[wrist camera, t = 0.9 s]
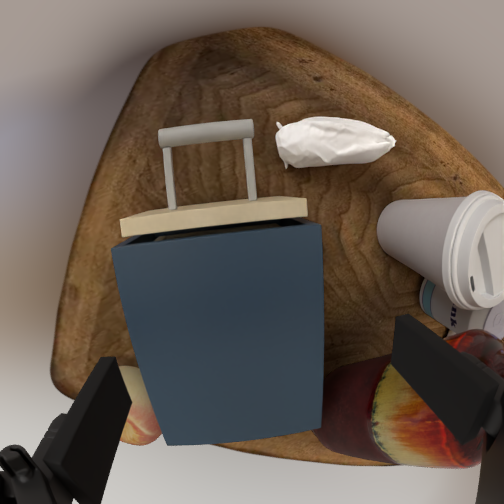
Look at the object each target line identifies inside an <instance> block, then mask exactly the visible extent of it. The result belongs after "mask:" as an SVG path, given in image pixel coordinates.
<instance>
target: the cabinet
mask: <svg viewBox="0 0 504 504" xmlns="http://www.w3.org/2000/svg"><path fill="white" fill-rule="evenodd" d="M274 223H276V224H278V225H279V226H281V227H276V228H266V229H257V230H247V231H238V232H229V233H220V234H211V235H202V236H194V237H185V238H177V239H169V240H160V241H154V240H155V239H157V238H158V237H159V236H167V235H175V234H183V233H192V232H200V231H209V230H218V229H227V228H236V227H245V226H255V225H264V224H274ZM111 252H112V258H113V263H114V269H115V274H116V279H117V284H118V288H119V293H120V298H121V302H122V306H123V311H124V315H125V319H126V323H127V327H128V331H129V334H130V338H131V342H132V345H133V349H134V352H135V356H136V359H137V363H138V366H139V369H140V372H141V376H142V379H143V382H144V385H145V388H146V391H147V394H148V397H149V399H150V402H151V405H152V408H153V411H154V413H155V416H156V419H157V421H158V424H159V426H160V429H161V432H162V434H163V437H164V439H165V441H166V444H167V445H168V446H174V445H176V446H177V445H202V444H218V443H230V442H240V441H248V440H256V439H263V438H270V437H276V436H282V435H288V434H293V433H299V432H304V431H309V430H313V429H318V428H321V421H322V402H323V375H324V278H323V250H322V230H321V225H320V224H317V223H314V222H312V221H309V220H306V219H303V218H300V217H296V218H285V219H275V220H265V221H255V222H245V223H236V224H227V225H218V226H209V227H200V228H192V229H183V230H175V231H167V232H159V233H151V234H144V235H136V236H133V237H131V238H129V239H127V240H126V241H124V242H122V243H120V244H118V245H117V246H115V247H113V248H111Z"/></svg>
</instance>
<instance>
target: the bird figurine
mask: <svg viewBox="0 0 504 504" xmlns="http://www.w3.org/2000/svg"><path fill="white" fill-rule="evenodd" d="M276 124H277V126H278V128H279V129H280V130H279V131H278V132H277V133H276V136H275V138H276V142H277V147H278V152H279V156H280V157H281V159H282V160H283V161H284V162H285V168H286V169H287V167H288V164H291V165H292V166H294V167H295V168H303V167H318V166H327V165H340V164H361V163H369V162H373V161H375V160H376V159H378V158H380V157H381V156H382V155H384V154H385V153H387V152H388V151H389V150H390V148H392V147H394V146H395V142H396V141H397V140H395V139H394V138H393V136H392V135H391V136H390V135H389V133H388V132H386V131H384V130H381V129H378V128H376V127H374V126H372V125H370V124H368V123H365V122H361V121H357V120H352V119H343V118H335V117H311V118H306V119H303V120H301V121H299V122H296V123H292V124H287V125H285V126H283V127H282V125H281V124H280V123H279V122H277V123H276Z"/></svg>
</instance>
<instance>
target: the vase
mask: <svg viewBox="0 0 504 504" xmlns="http://www.w3.org/2000/svg"><path fill="white" fill-rule="evenodd" d="M442 339H443V340H445V341H446V342H447V343H448V344H450V345H451V346H452V347H454V348H455V349H456V350H458V351H459V352H463V351H464V352H466V353H469V354H471V355H474V356H475V357H476V358H478V359H479V360H480V361H481V362H483V363H484V364H485V365H487V367H489V368H491V369H492V370H493V371H494V372H496V373H497V374H498V375H500V376H501V377H502V378H503V379H504V343H503V342H502V341H501V340H500V339H499V338H498V337H497V336H495V335H494V334H492V333H490V332H488V331H486V330H483V329H471V330H467V331H464V332H461V333H458V334H454V335H451V336H448V337H445V338H442ZM391 357H392V354H388V355H384V356H380V357H377V358H373V359H369V360H364V361H360V362H356V363H353V364H349V365H345V366H342V367H340V368H338V369H335V370H334V371H333V372H331V373H330V374H329V375H328V376H327V377H326V378H325V379H324V380H323V402H322V421H321V428H318V429H313V430H312V432H313V433H314V434H315V436H316V437H318V439H319V440H320V442H321V443H322V444H323V445H324V446H325V447H326V448H328V449H330V450H331V451H333V452H337V453H340V454H344V455H348V456H352V457H357V458H362V459H367V460H373V461H379V462H385V463H392V464H399V465H408V466H418V467H430V468H451V469H454V468H456V469H458V468H470V467H474V466H476V465H478V464H480V463H481V459H482V446H483V444H482V445H481V447H480V449H479V450H476V449H477V446H478V444H479V442H480V441H481V439H482V437H483V435H484V433H485V430H484V429H483V428H482V427H481V429H480V431H479V433H478V435H477V437H476V438H474V439H473V440H471V441H469V442H468V443H466V444H464V445H463V446H462V445H461V443H460V442H459V441H458V440H457V439H456V438H455V436H454V435H453V434H452V433H451V432H450V431H449V429H448V428H447V427H446V426H445V425H444V424H443V422H442V421H441V420H440V419H439V418H438V417H437V416H436V414H435V413H434V412H433V411H432V410H431V409H430V408H429V406H428V405H427V404H426V403H425V402H424V401H423V400H422V399H421V397H420V396H419V395H418V394H417V393H416V392H415V391H414V390H413V388H412V387H411V386H410V385H409V384H408V383H407V382H406V381H405V379H404V378H403V377H402V376H401V375H400V374H399V373H398V372H397V371H396V369H395V368H394V367H393V366H392V365H391Z"/></svg>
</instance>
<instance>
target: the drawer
mask: <svg viewBox="0 0 504 504" xmlns="http://www.w3.org/2000/svg"><path fill="white" fill-rule="evenodd" d="M253 137H254V125H253V120H252V119H245V120H232V121H221V122H211V123H202V124H194V125H186V126H179V127H172V128H165V129H160V130H159V132H158V140H159V145H160V148H163V158H164V169H165V180H166V190H167V199H168V208H165V209H157V210H150V211H146V212H143V213H140V214H136V215H133V216H130V217H127V218H123V219H120V226H121V233H122V237H129V236H136V235H144V234H151V233H159V232H167V231H175V230H183V229H192V228H200V227H209V226H218V225H227V224H236V223H245V222H255V221H265V220H275V219H285V218H296V217H307V216H308V211H307V199H306V198H297V197H286V196H273V197H262V198H257V192H256V181H255V171H254V160H253V150H252V140H251V138H253ZM237 139H243V147H244V157H245V168H246V178H247V189H248V199H241V200H232V201H222V202H213V203H204V204H196V205H188V206H180V207H177V200H176V191H175V181H174V170H173V159H172V148H171V147H175V146H183V145H190V144H198V143H207V142H216V141H226V140H237ZM276 227H281V226H279V225H278V224H276V223H274V224H264V225H255V226H245V227H236V228H227V229H218V230H209V231H200V232H192V233H183V234H175V235H167V236H159V237H158V238H157V239H155V240H154V241H160V240H169V239H177V238H185V237H194V236H202V235H211V234H220V233H229V232H238V231H247V230H257V229H266V228H276Z"/></svg>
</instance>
